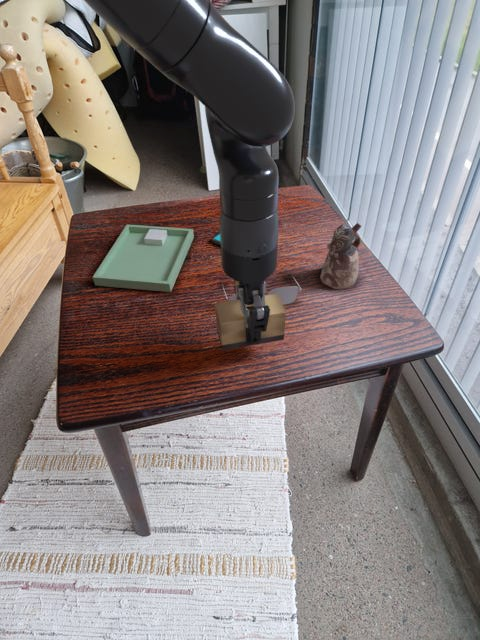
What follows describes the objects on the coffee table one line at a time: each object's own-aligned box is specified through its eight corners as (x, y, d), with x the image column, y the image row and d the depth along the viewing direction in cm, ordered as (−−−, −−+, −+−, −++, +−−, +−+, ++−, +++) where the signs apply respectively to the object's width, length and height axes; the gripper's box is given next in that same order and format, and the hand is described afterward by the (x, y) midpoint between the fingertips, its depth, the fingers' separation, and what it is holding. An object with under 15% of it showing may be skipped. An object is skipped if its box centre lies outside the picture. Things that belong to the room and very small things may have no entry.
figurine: (315, 269, 86) (322, 217, 78) (348, 265, 87) (358, 213, 79) (327, 291, 81) (336, 238, 73) (362, 286, 82) (374, 233, 74)
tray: (95, 285, 84) (92, 277, 82) (128, 232, 97) (126, 224, 96) (170, 292, 82) (169, 283, 80) (194, 237, 96) (193, 229, 94)
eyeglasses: (228, 313, 77) (226, 295, 75) (220, 288, 83) (219, 271, 81) (300, 302, 79) (302, 284, 76) (288, 279, 85) (289, 262, 82)
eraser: (222, 350, 65) (220, 323, 61) (217, 330, 68) (214, 303, 64) (283, 339, 67) (286, 312, 62) (276, 320, 70) (277, 293, 66)
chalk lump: (145, 244, 93) (143, 238, 92) (150, 234, 96) (149, 228, 95) (162, 245, 92) (161, 239, 91) (167, 235, 95) (166, 230, 94)
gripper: (211, 214, 59) (218, 304, 71) (231, 275, 49) (235, 368, 61) (263, 207, 60) (261, 297, 72) (293, 266, 50) (285, 359, 62)
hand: (249, 329), depth 67 cm, fingers closed on eraser, 4 cm apart
